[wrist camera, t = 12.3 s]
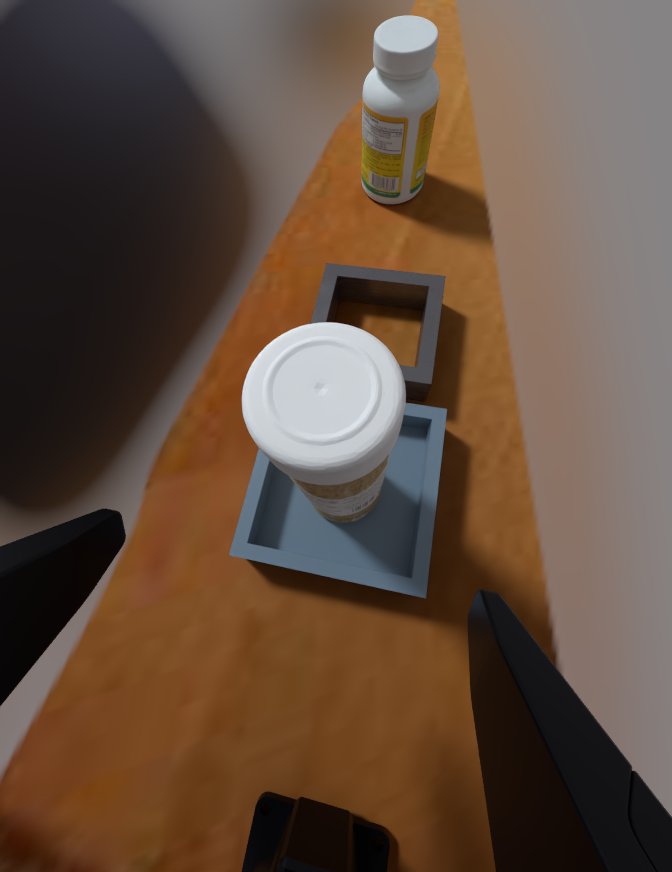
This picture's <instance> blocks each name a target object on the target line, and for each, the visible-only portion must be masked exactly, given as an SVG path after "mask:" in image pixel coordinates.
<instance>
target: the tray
mask: <svg viewBox="0 0 672 872" xmlns="http://www.w3.org/2000/svg"><path fill="white" fill-rule="evenodd" d="M446 415H447V409H444V408H437V407H431V406H424V405H418V404H411V403H405V410H404V415H403V421H402V425H401V429H400V432H399V435H398V438H397V441H396V443H395V445H394V447H393V448H392V450H391V452H390V457H389V462H388V465H387V469H386V473H385V477H384V480H383V484H382V487H381V492H380V497H379V500H378V502H377V503H376V506H375V507H374V509H373V510H372V511H371V512H369V513H368V514H367V515H366V516H365V517H363V518H361V519H360V520H358V521H354V522H350V523H338V522H334V521H330V520H328V519H326V518H325V517H323V516H321V515H320V514H319V513H318V512H317V511H316V510H315V508H314V506H313V505H312V503H311V502H310V501H309V500H308V499H307V497H306V496H305V495H304V494H303V492H302V491H301V490H300V489H299V487H298V486H297V485H296V484H295V483H294V482H293V480H292V479H291V478H290V476H289V475H287V474H285V473H284V472H282V471H281V470H279V469H278V468H277V467H276V466H275V465H274V464H273V463H272V462H271V461H270V460H269V459H268V458H267V457H266V456H265V454H264V453H263V452H262V451H261V450H260V448H259V450H258V454H257V458H256V461H255V465H254V468H253V472H252V475H251V479H250V482H249V486H248V490H247V493H246V497H245V500H244V504H243V507H242V511H241V514H240V518H239V522H238V525H237V529H236V532H235V536H234V539H233V543H232V547H231V550H230V554H229V555H231V556H235V557H240V558H244V559H249V560H254V561H258V562H263V563H267V564H272V565H276V566H281V567H285V568H290V569H294V570H299V571H304V572H308V573H313V574H317V575H322V576H326V577H331V578H335V579H340V580H345V581H349V582H354V583H358V584H363V585H367V586H372V587H376V588H381V589H385V590H390V591H395V592H399V593H404V594H408V595H413V596H417V597H422V598H426V593H427V584H428V575H429V566H430V557H431V548H432V540H433V531H434V522H435V513H436V504H437V495H438V486H439V477H440V468H441V460H442V451H443V442H444V433H445V424H446Z"/></svg>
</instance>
